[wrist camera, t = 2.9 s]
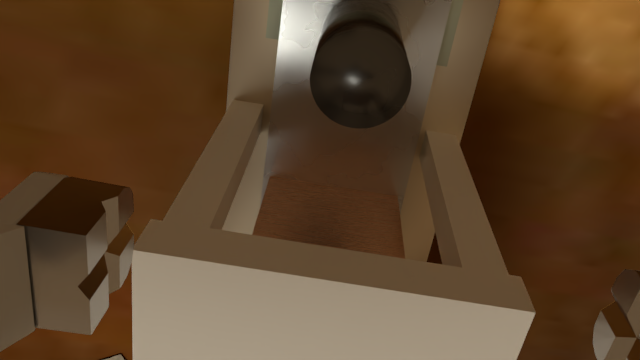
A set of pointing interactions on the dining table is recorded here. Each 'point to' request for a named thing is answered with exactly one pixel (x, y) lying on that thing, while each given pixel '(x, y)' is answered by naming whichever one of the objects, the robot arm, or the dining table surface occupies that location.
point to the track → (440, 116)
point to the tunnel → (320, 276)
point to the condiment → (115, 358)
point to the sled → (347, 119)
